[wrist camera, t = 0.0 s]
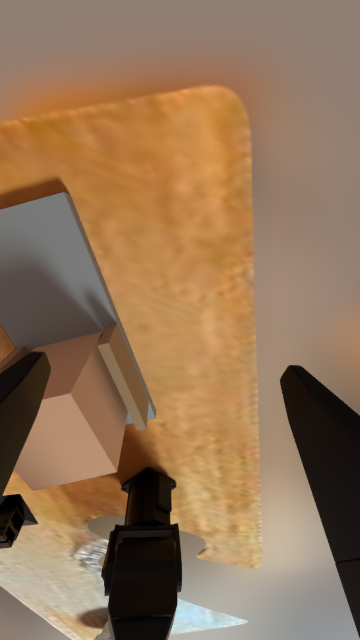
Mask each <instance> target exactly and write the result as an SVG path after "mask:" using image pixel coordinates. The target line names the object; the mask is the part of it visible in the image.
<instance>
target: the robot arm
mask: <svg viewBox="0 0 360 640" xmlns="http://www.w3.org/2000/svg"><path fill="white" fill-rule="evenodd" d="M50 373H51V366H50V363H49V360H48V357H47V355H46V353H45V352H42V351H32V352H30V353H28V354H27V355H25V356H24V357H22V358H21V359H20V360H18V361H17V362H15V363H14V364H13V365H11V366H10V367H8V368H7V369H6V370H4V371H3V372H1V373H0V500H1V497H2V495H3V493H4V490H5V488H6V486H7V483H8V481H9V479H10V477H11V474H12V472H13V470H14V467H15V465H16V463H17V461H18V458H19V456H20V454H21V451H22V449H23V447H24V445H25V442H26V440H27V438H28V435H29V433H30V431H31V429H32V426H33V424H34V422H35V419H36V417H37V414H38V411H39V409H40V405H41V402H42V399H43V396H44V392H45V389H46V386H47V383H48V380H49V376H50ZM280 385H281V389H282V394H283V398H284V403H285V407H286V412H287V416H288V420H289V424H290V427H291V430H292V433H293V436H294V439H295V442H296V445H297V448H298V451H299V454H300V457H301V461H302V463H303V467H304V470H305V473H306V476H307V479H308V482H309V485H310V488H311V491H312V494H313V497H314V500H315V503H316V506H317V509H318V512H319V515H320V518H321V521H322V524H323V527H324V531H325V534H326V537H327V540H328V543H329V546H330V549H331V552H332V555H333V558H334V561H335V562H336V563H335V565H336V568H337V571H338V574H339V577H340V580H341V583H342V586H343V589H344V592H345V595H346V598H347V601H348V604H349V607H350V610H351V613H352V616H353V619H354V622H355V625H356V628H357V631H358V634H359V638H360V416H359V415H358V414H357V413H356V412H355V411H354V410H352V409H351V408H350V407H349V406H348V405H346V404H345V403H344V402H343V401H342V400H340V399H339V398H338V397H337V396H336V395H334V394H333V393H332V392H331V391H330V390H329V389H328V388H326V387H325V386H324V385H323V384H322V383H320V382H319V381H318V380H317V379H316V378H315V377H313V376H312V375H311V374H310V373H309V372H308V371H306V370H305V369H304V368H303V367H301V366H298V365H290V366H288V367H287V369H286V370H285V372H284V373H283V375H282V377H281V379H280ZM174 488H176V482H174V481H172V480H170V479H169V478H167V477H165V476H163V475H162V474H160V473H158V472H156V471H155V470H153V469H151V468H146V469H144V470H143V471H141V472H140V473H139V474H137V475H136V476H134V477H133V478H132V479H130V480H129V481H127V482H126V483H124V484H123V485H122V486H121V490H122V491H124V492H126V493H128V500H127V508H126V516H125V524H124V525H120V526H119V525H115V529H114V530H113V531H111V532H110V537H109V543H108V548H107V552H106V556H105V560H104V564H103V568H102V573H101V577H102V578H103V580H104V587H105V596H109V603H108V625H109V632H110V636H111V640H168V637H169V634H170V631H171V628H172V625H173V621H174V616H175V612H176V607H177V592H181V587H182V562H181V549H180V539H179V527H178V523H175V524H170V512H171V510H172V506H171V490H172V489H174Z"/></svg>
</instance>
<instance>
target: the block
mask: <svg viewBox="0 0 360 640" xmlns="http://www.w3.org/2000/svg"><path fill="white" fill-rule="evenodd" d="M103 334H104V333H103V331H101V332H97V333H93V334H89V335H85V336H81V337H77V338H73V339H69V340H65V341H61V342H57V343H53V344H49V345H45V346H41V347H37V348H34V349H33V350H32V351H42V352H45V353H46V355H47V357H48V360H49V363H50V366H51V373H50V376H49V380H48V383H47V386H46V389H45V392H44V396H43V399H42V402H41V405H40V409H39V411H38V414H37V417H36V419H35V422H34V424H33V426H32V429H31V431H30V433H29V435H28V438H27V440H26V442H25V445H24V447H23V449H22V451H21V454H20V456H19V458H18V461H17V463H16V465H15V467H14V470H15V471H16V472H17V473H18V475H19V476H20V477H21V478H22V479H23V480H24V481H25V482H26V483H27V484H28V486H29V487H30V488H31V489H32V490H33V491H34V490H39V489H43V488H48V487H52V486H57V485H61V484H66V483H70V482H75V481H79V480H84V479H89V478H93V477H98V476H102V475H107V474H111V473H116V472H117V470H118V464H119V459H120V453H121V448H122V442H123V437H124V431H125V426H126V420H127V415H128V410H127V408H126V406H125V403H124V401H123V399H122V397H121V395H120V393H119V391H118V389H117V386H116V384H115V382H114V380H113V378H112V376H111V374H110V372H109V370H108V367H107V365H106V363H105V361H104V359H103V357H102V355H101V353H100V350H99V348H98V346H97V345H98V343H99V341H100V339H101V337H102V336H103ZM32 351H31V352H32Z"/></svg>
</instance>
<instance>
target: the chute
mask: <svg viewBox="0 0 360 640" xmlns="http://www.w3.org/2000/svg"><path fill="white" fill-rule="evenodd" d="M0 325H1V326H2V328H3V329H4V331H5V332H6V334H7V336H8V337H9V339H10V340H11V342H12V343H13V345H14V346H15V348H16V349H14V350H13V351H12V352H11V353H10V354H9V355H8V356H7V357H6V358H5V359H3V360H2V361H1V362H0V373H1V372H3V371H4V370H6V369H7V368H8V367H10V366H11V365H13V364H14V363H15V362H17V361H18V360H20V359H21V358H22V357H24V356H25V355H27V354H28V353H30V352H31V351H32V350H33V349H34V348H37V347H41V346H45V345H49V344H53V343H57V342H61V341H65V340H69V339H73V338H77V337H81V336H85V335H89V334H93V333H97V332H101V331H103V333H104V334H103V336H102V337H101V339H100V341H99V343H98V345H97V346H98V348H99V350H100V353H101V355H102V357H103V359H104V361H105V363H106V365H107V367H108V370H109V372H110V374H111V376H112V378H113V380H114V382H115V384H116V386H117V389H118V391H119V393H120V395H121V397H122V399H123V401H124V403H125V406H126V408H127V410H128V415H127V420H126V425H127V424H132V423H134V425H135V427H136V429H137V431H139V430H144V429H147V420H149V419H153V418H156V410H155V407H154V405H153V402H152V399H151V397H150V394H149V392H148V389H147V387H146V384H145V382H144V379H143V377H142V374H141V372H140V369H139V367H138V364H137V362H136V359H135V357H134V354H133V352H132V349H131V347H130V344H129V342H128V339H127V337H126V334H125V331H124V329H123V326H122V324H121V321H120V319H119V316H118V314H117V311H116V309H115V306H114V304H113V301H112V299H111V296H110V294H109V291H108V289H107V286H106V284H105V281H104V279H103V276H102V274H101V271H100V269H99V266H98V264H97V261H96V258H95V256H94V253H93V251H92V248H91V246H90V243H89V241H88V238H87V236H86V233H85V231H84V228H83V226H82V223H81V221H80V218H79V216H78V213H77V211H76V208H75V206H74V203H73V201H72V198H71V196H70V193H66V192H62V193H58V194H55V195H51V196H48V197H44V198H41V199H37V200H33V201H30V202H26V203H23V204H19V205H15V206H12V207H8V208H5V209H1V210H0Z"/></svg>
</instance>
